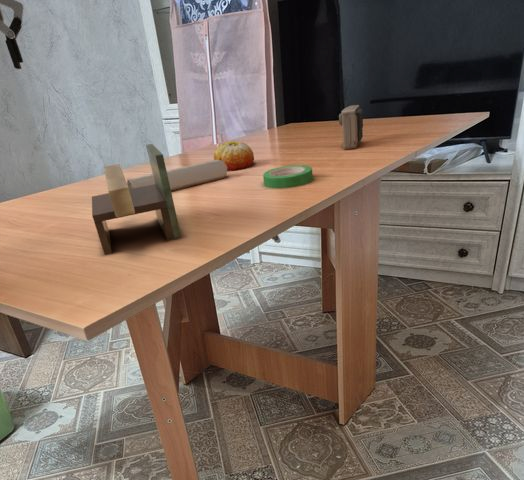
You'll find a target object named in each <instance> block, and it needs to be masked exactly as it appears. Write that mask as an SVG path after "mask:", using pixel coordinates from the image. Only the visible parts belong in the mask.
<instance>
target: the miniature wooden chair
mask: <svg viewBox="0 0 524 480" xmlns="http://www.w3.org/2000/svg"><path fill="white" fill-rule="evenodd" d="M145 148H146V151H147V156H148V159H149V164H150V168H151V169H150V170H151V172H152V173H151V174H153V177H154V181H155V184H153V185H148V186H143V187H138V188H133V189H129V192H130V195H131V199H132V203H133V206H134V210H135V214H130V215H126V216H121V217H116V216H115V212H114V209H113V206H112V202H111V199H110V195H109V192H107V193H102V194H97V195H92V196H91V217H92V219H93V223H94V225H95V229H96V232H97V235H98V238H99V242H100V244H101V248H102V250H103V253H104V255H105V256H107V255H111V254H113V251H112V244H111V237H110V229H109V226H108V223H107V221H111V220H115V219H119V218H125V217H129V216H134V215H139V214H144V213H148V212H153V211H154V213H155V215H156V220H157V222H158V224H159V226H160V228H161V230H162V232H163V234H164V236H165V238H166V240H167V241H168V242H169V241H170V242H171V241H174V240H178V239H182V234H181V229H180V225H179V224H180V223H179V220H178V216H177V215H178V214H177V212H176V207H175V202H174V198H173V194H172V193H173V192H172V191H171V189H170V184H169V180H168V175H167V171H168V170H167V166H166V162H165V158H164V154H163V153H162V152H161V151H160V150H159V149H158V148H157V147H156V146H155V145H154V144H153V143H149V144H148V143H147V144H146V145H145Z"/></svg>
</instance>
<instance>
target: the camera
mask: <svg viewBox="0 0 524 480" xmlns="http://www.w3.org/2000/svg"><path fill="white" fill-rule="evenodd" d="M363 112H364V110H363V108H361V107H360V105H359V104H353V105H349V106H347V107H344V108H343V109H342V110H341V113H339V115H338V120H339V121H338V122H339V125H340V126H341V129H342V130H341V131H342V148H343V150H353V149H356V148H357V147H358V146H359V144H360V142H361V141H362V140H363V136H364V133H363V128H364V115H363V114H364V113H363Z"/></svg>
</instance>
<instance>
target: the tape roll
mask: <svg viewBox="0 0 524 480" xmlns="http://www.w3.org/2000/svg"><path fill="white" fill-rule="evenodd" d="M262 176H263V177H262V178H263V186H264V187H266V188H270V189H288V188H295V187H300V186H303V185H304V186H305V185H307V184H309V183H311V182H312V181H313V180H314V179H313V178H314V177H313V168H312V166H309V165H305V164H296V165H295V164H293V165H285V166H279V167H275V168H271V169H268V170H267V171H264V173H262Z"/></svg>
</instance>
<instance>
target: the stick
mask: <svg viewBox="0 0 524 480" xmlns="http://www.w3.org/2000/svg"><path fill="white" fill-rule="evenodd" d="M103 170H104V174H105V175H104V176H105V180H106V186H107V191H108V192H107V193H109V195H110V199H111V202H112V206H113V209H114V212H115V216H116V217H120V218H122V217H121V216H125V217H127V216H126V215H130V214H135V210H134V206H133V203H132V199H131V195H130V192H129V188H128V185H127V179H126V177H125V175H124V172H123V169H122V167H121V164H120V163H118V164H111V165H107V166H103ZM135 215H136V214H135ZM130 216H131V215H130Z"/></svg>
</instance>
